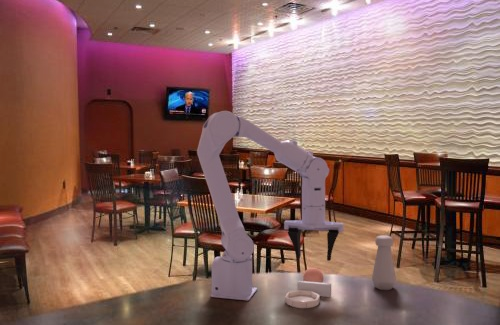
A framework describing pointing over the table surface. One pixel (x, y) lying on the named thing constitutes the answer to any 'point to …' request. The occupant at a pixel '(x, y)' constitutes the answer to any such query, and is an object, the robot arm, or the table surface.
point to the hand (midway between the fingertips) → (313, 258)
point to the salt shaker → (384, 264)
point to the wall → (315, 287)
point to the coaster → (302, 299)
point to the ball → (313, 275)
